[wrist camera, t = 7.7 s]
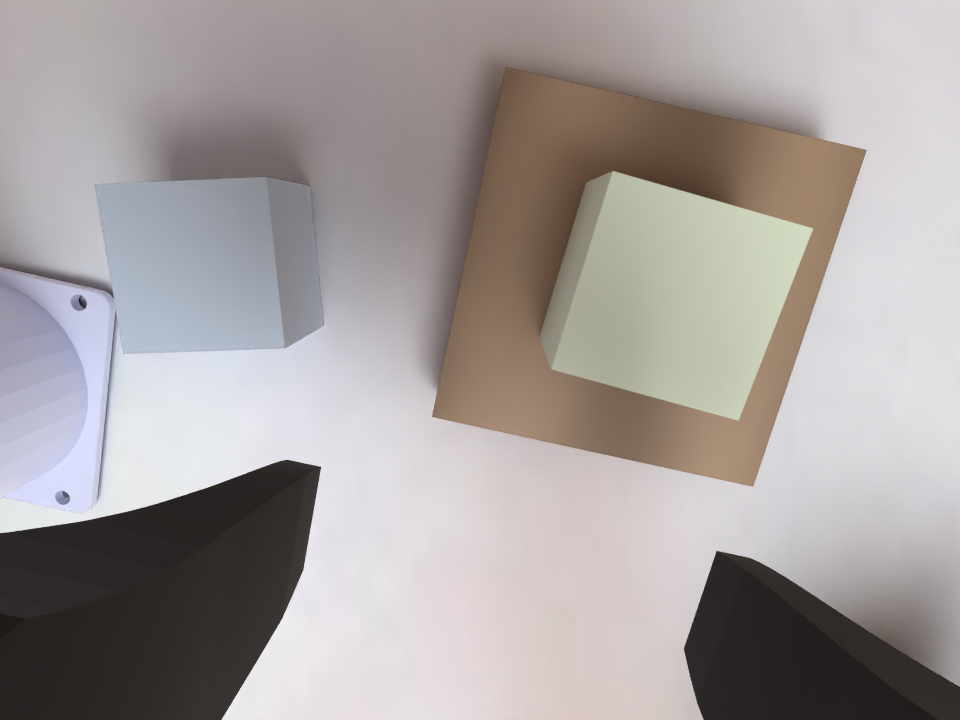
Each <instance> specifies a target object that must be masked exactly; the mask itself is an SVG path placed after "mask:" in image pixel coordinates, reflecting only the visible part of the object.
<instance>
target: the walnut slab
mask: <svg viewBox="0 0 960 720" xmlns="http://www.w3.org/2000/svg"><path fill="white" fill-rule="evenodd" d="M865 153H866V150H864V149H860V148H856V147H851V146H847V145H842V144H838V143H834V142H829V141H825V140H821V139H816V138H812V137H808V136H803V135H799V134H795V133H790V132H786V131H781V130H777V129H773V128H768V127H764V126H760V125H755V124H751V123H747V122H742V121H738V120H733V119H729V118H725V117H720V116H716V115H712V114H707V113H703V112H699V111H694V110H690V109H685V108H681V107H677V106H672V105H668V104H664V103H659V102H655V101H651V100H646V99H642V98H638V97H633V96H629V95H624V94H620V93H616V92H611V91H607V90H603V89H598V88H594V87H590V86H585V85H581V84H576V83H572V82H568V81H563V80H559V79H555V78H550V77H546V76H542V75H537V74H533V73H529V72H524V71H520V70H515V69H511V68H507V67H506V69H505V74H504V79H503V83H502V88H501V93H500V97H499V102H498V107H497V112H496V116H495V121H494V126H493V131H492V135H491V140H490V145H489V150H488V154H487V159H486V164H485V169H484V173H483V178H482V183H481V187H480V192H479V197H478V202H477V206H476V211H475V216H474V221H473V225H472V230H471V235H470V240H469V244H468V249H467V254H466V258H465V263H464V268H463V273H462V277H461V282H460V287H459V292H458V296H457V301H456V306H455V311H454V315H453V320H452V325H451V330H450V334H449V339H448V344H447V348H446V353H445V358H444V363H443V367H442V372H441V377H440V382H439V386H438V391H437V396H436V401H435V405H434V410H433V415H432V417H435V418H440V419H444V420H449V421H453V422H458V423H463V424H467V425H472V426H476V427H481V428H486V429H490V430H495V431H499V432H504V433H509V434H513V435H518V436H522V437H527V438H532V439H536V440H541V441H545V442H550V443H555V444H559V445H564V446H568V447H573V448H578V449H582V450H587V451H591V452H596V453H601V454H605V455H610V456H614V457H619V458H624V459H628V460H633V461H637V462H642V463H647V464H651V465H656V466H660V467H665V468H670V469H674V470H679V471H683V472H688V473H693V474H697V475H702V476H706V477H711V478H716V479H720V480H725V481H729V482H734V483H739V484H743V485H748V486H752V487H753V485H754V482H755V479H756V476H757V473H758V471H759V468H760V465H761V462H762V459H763V456H764V453H765V450H766V447H767V444H768V441H769V438H770V435H771V432H772V429H773V426H774V423H775V420H776V417H777V414H778V411H779V408H780V405H781V402H782V399H783V396H784V393H785V390H786V387H787V385H788V382H789V379H790V376H791V373H792V370H793V367H794V364H795V361H796V358H797V355H798V352H799V349H800V346H801V343H802V340H803V337H804V334H805V331H806V328H807V325H808V322H809V319H810V316H811V313H812V310H813V307H814V304H815V301H816V299H817V296H818V293H819V290H820V287H821V284H822V281H823V278H824V275H825V272H826V269H827V266H828V263H829V260H830V257H831V254H832V251H833V248H834V245H835V242H836V239H837V236H838V233H839V230H840V227H841V224H842V221H843V218H844V215H845V213H846V210H847V207H848V204H849V201H850V198H851V195H852V192H853V189H854V186H855V183H856V180H857V177H858V174H859V171H860V168H861V165H862V162H863V159H864V156H865ZM612 171H615V172H618V173H622V174H625V175H629V176H632V177H636V178H639V179H643V180H646V181H650V182H653V183H657V184H660V185H664V186H667V187H670V188H674V189H677V190H681V191H684V192H688V193H691V194H695V195H698V196H702V197H705V198H709V199H712V200H716V201H719V202H723V203H726V204H730V205H733V206H737V207H740V208H744V209H747V210H751V211H754V212H758V213H761V214H765V215H768V216H772V217H775V218H778V219H782V220H785V221H789V222H792V223H796V224H799V225H803V226H806V227H810V228H813V230H812V233H811V236H810V238H809V241H808V243H807V246H806V248H805V251H804V254H803V256H802V259H801V261H800V264H799V266H798V269H797V272H796V274H795V277H794V279H793V282H792V285H791V287H790V290H789V292H788V295H787V297H786V300H785V303H784V305H783V308H782V310H781V313H780V315H779V318H778V321H777V323H776V326H775V328H774V331H773V333H772V336H771V339H770V341H769V344H768V346H767V349H766V351H765V354H764V357H763V359H762V362H761V364H760V367H759V369H758V372H757V375H756V377H755V380H754V382H753V385H752V388H751V390H750V393H749V395H748V398H747V400H746V403H745V406H744V408H743V411H742V413H741V416H740V418H739V421H738V420H734V419H730V418H727V417H723V416H719V415H716V414H712V413H708V412H705V411H701V410H698V409H694V408H690V407H687V406H683V405H679V404H676V403H672V402H668V401H665V400H661V399H657V398H654V397H650V396H647V395H643V394H639V393H636V392H632V391H628V390H625V389H621V388H617V387H614V386H610V385H607V384H603V383H599V382H596V381H592V380H588V379H585V378H581V377H577V376H574V375H570V374H566V373H563V372H559V371H556V370H552V369H551V367H550V364H549V362H548V359H547V356H546V354H545V351H544V348H543V346H542V343H541V340H540V338H539V337H540V333H541V330H542V327H543V323H544V320H545V317H546V314H547V310H548V307H549V304H550V300H551V297H552V294H553V290H554V287H555V284H556V280H557V277H558V274H559V270H560V267H561V264H562V261H563V257H564V254H565V251H566V247H567V244H568V241H569V237H570V234H571V231H572V227H573V224H574V221H575V218H576V214H577V211H578V208H579V204H580V201H581V198H582V194H583V191H584V188H585V184H586V182H588V181H591V180H593V179H595V178H598V177H600V176H602V175H605V174H607V173H609V172H612Z"/></svg>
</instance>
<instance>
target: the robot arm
mask: <svg viewBox="0 0 960 720" xmlns="http://www.w3.org/2000/svg"><path fill="white" fill-rule="evenodd" d="M80 295H81V296H83V297H84V298H85V299H86V302H87V306H86V308H83V307H81V305H80V304H79V297H80ZM115 310H116V308H115V302H114V299H113V297H112V296H111V295H110V294H109V293H108V292H105V291H103V290H100V289H95V288H91V287H86V286H82V285H77V284H73V283H69V282H64V281H60V280H55V279H51V278H46V277H42V276H38V275H33V274H29V273H24V272H20V271H15V270H11V269H7V268H2V267H0V498H2V497H4V498H9V499H13V500H18V501H22V502H27V503H32V504H36V505H41V506H46V507H50V508H55V509H59V510H64V511H69V512H73V513H84V512H87V511H88V510H90V509H91V508H92V507H93V506H94V505H95V504H96V502H97V496H98V486H99V475H100V465H101V455H102V444H103V434H104V424H105V413H106V403H107V393H108V383H109V372H110V362H111V352H112V341H113V331H114V321H115ZM320 470H321V467H318V466H314V465H309V464H304V463H300V462H295V461H290V460H284V461H280V462H276V463H273V464H270V465H268V466H265V467H262V468H259V469H257V470H254V471H252V472H249V473H246V474H244V475H241V476H238V477H236V478H233V479H230V480H227V481H225V482H222V483H219V484H217V485H214V486H211V487H208V488H205V489H202V490H199V491H196V492H193V493H190V494H187V495H184V496H180V497H177V498H174V499H171V500H168V501H165V502H162V503H158V504H155V505H151V506H148V507H144V508H140V509H136V510H132V511H128V512H124V513H120V514H115V515H110V516H106V517H101V518H97V519H92V520H87V521H82V522H76V523H69V524H62V525H56V526H49V527H42V528H35V529H29V530H22V531H15V532H8V533H0V720H222V718H223V716H224V715H225V713H226V711H227V710H228V708H229V706H230V705H231V703H232V701H233V700H234V698H235V696H236V695H237V693H238V691H239V690H240V688H241V686H242V685H243V683H244V681H245V680H246V678H247V677H248V675H249V673H250V672H251V670H252V668H253V667H254V665H255V663H256V662H257V660H258V658H259V657H260V655H261V653H262V652H263V650H264V648H265V647H266V645H267V643H268V642H269V640H270V638H271V636H272V635H273V633H274V631H275V630H276V628H277V626H278V625H279V623H280V621H281V619H282V618H283V615H284V613H285V611H286V609H287V606H288V604H289V602H290V600H291V597H292V595H293V593H294V590H295V588H296V586H297V583H298V581H299V579H300V576H301V574H302V572H303V568H304V562H305V556H306V551H307V545H308V539H309V533H310V528H311V522H312V516H313V510H314V505H315V499H316V493H317V487H318V481H319V476H320ZM63 491H64V492H66V493H67V494H68V495H69V497H70V500H69V499H67V498H65V496H64V495H63ZM684 651H685V656H686V660H687V664H688V669H689V673H690V677H691V681H692V685H693V689H694V692H695V696H696V700H697V703H698V706H699V709H700V711H701V714H702V716H703V719H704V720H960V687H959V686H957V685H955V684H954V683H952V682H950V681H948V680H947V679H945V678H943V677H942V676H940V675H938V674H936V673H935V672H933V671H931V670H929V669H928V668H926V667H925V666H923V665H921V664H920V663H918V662H916V661H915V660H913V659H911V658H910V657H908V656H907V655H905V654H903V653H902V652H900V651H898V650H897V649H895V648H893V647H892V646H890V645H889V644H887V643H885V642H884V641H882V640H881V639H879V638H878V637H876V636H874V635H873V634H871V633H870V632H868V631H867V630H865V629H864V628H862V627H861V626H859V625H857V624H856V623H854V622H853V621H851V620H850V619H848V618H847V617H845V616H844V615H842V614H841V613H839V612H838V611H836V610H835V609H833V608H832V607H830V606H829V605H827V604H826V603H824V602H823V601H821V600H820V599H818V598H817V597H815V596H813V595H812V594H810V593H809V592H807V591H806V590H804V589H803V588H801V587H800V586H798V585H797V584H795V583H794V582H792V581H790V580H789V579H787V578H786V577H784V576H782V575H781V574H779V573H778V572H776V571H774V570H772V569H771V568H769V567H767V566H765V565H763V564H762V563H760V562H757V561H755V560H753V559H751V558H747V557H743V556H738V555H733V554H729V553H724V552H719V551H717V552H716V555H715V558H714V561H713V564H712V567H711V570H710V573H709V576H708V579H707V582H706V585H705V588H704V591H703V594H702V597H701V600H700V603H699V606H698V609H697V611H696V614H695V617H694V620H693V623H692V626H691V629H690V632H689V635H688V638H687V641H686V644H685V647H684Z"/></svg>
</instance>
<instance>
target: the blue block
mask: <svg viewBox="0 0 960 720" xmlns="http://www.w3.org/2000/svg"><path fill="white" fill-rule="evenodd" d="M95 187H96V193H97V199H98V205H99V211H100V217H101V223H102V229H103V235H104V241H105V247H106V254H107V260H108V266H109V272H110V278H111V284H112V290H113V296H114V302H115V308H116V314H117V320H118V326H119V332H120V338H121V344H122V350H123V354H135V353H164V352H193V351H222V350H250V349H279V348H286V347H288V346H290V345H291V344H293V343H295V342H297V341H298V340H300V339H302V338H303V337H305V336H307V335H309V334H310V333H312V332H314V331H315V330H317V329H319V328H320V327H322V326H324V322H323V312H322V301H321V291H320V280H319V270H318V259H317V249H316V238H315V228H314V217H313V207H312V196H311V186H308V185H303V184H299V183H294V182H289V181H284V180H280V179H275V178H270V177H249V178H226V179H203V180H180V181H157V182H134V183H111V184H95Z"/></svg>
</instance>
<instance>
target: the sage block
mask: <svg viewBox="0 0 960 720" xmlns="http://www.w3.org/2000/svg"><path fill="white" fill-rule="evenodd" d="M812 230H813V228H810V227H806V226H803V225H799V224H796V223H792V222H789V221H785V220H782V219H778V218H775V217H772V216H768V215H765V214H761V213H758V212H754V211H751V210H747V209H744V208H740V207H737V206H733V205H730V204H726V203H723V202H719V201H716V200H712V199H709V198H705V197H702V196H698V195H695V194H691V193H688V192H684V191H681V190H677V189H674V188H670V187H667V186H664V185H660V184H657V183H653V182H650V181H646V180H643V179H639V178H636V177H632V176H629V175H625V174H622V173H618V172H615V171H612V172H609V173H607V174H605V175H602V176H600V177H598V178H595V179H593V180H591V181H588V182H586V184H585V188H584V191H583V194H582V198H581V201H580V204H579V208H578V211H577V214H576V218H575V221H574V224H573V227H572V231H571V234H570V237H569V241H568V244H567V247H566V251H565V254H564V257H563V261H562V264H561V267H560V270H559V274H558V277H557V280H556V284H555V287H554V290H553V294H552V297H551V300H550V304H549V307H548V310H547V314H546V317H545V320H544V323H543V327H542V330H541V333H540V337H539V338H540V340H541V343H542V346H543V348H544V351H545V354H546V356H547V359H548V362H549V364H550V367H551V369H552V370H556V371H559V372H563V373H566V374H570V375H574V376H577V377H581V378H585V379H588V380H592V381H596V382H599V383H603V384H607V385H610V386H614V387H617V388H621V389H625V390H628V391H632V392H636V393H639V394H643V395H647V396H650V397H654V398H657V399H661V400H665V401H668V402H672V403H676V404H679V405H683V406H687V407H690V408H694V409H698V410H701V411H705V412H708V413H712V414H716V415H719V416H723V417H727V418H730V419H734V420H738V421H739V418H740V416H741V413H742V411H743V408H744V406H745V403H746V400H747V398H748V395H749V393H750V390H751V388H752V385H753V382H754V380H755V377H756V375H757V372H758V369H759V367H760V364H761V362H762V359H763V357H764V354H765V351H766V349H767V346H768V344H769V341H770V339H771V336H772V333H773V331H774V328H775V326H776V323H777V321H778V318H779V315H780V313H781V310H782V308H783V305H784V303H785V300H786V297H787V295H788V292H789V290H790V287H791V285H792V282H793V279H794V277H795V274H796V272H797V269H798V266H799V264H800V261H801V259H802V256H803V254H804V251H805V248H806V246H807V243H808V241H809V238H810V236H811V233H812Z"/></svg>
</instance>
